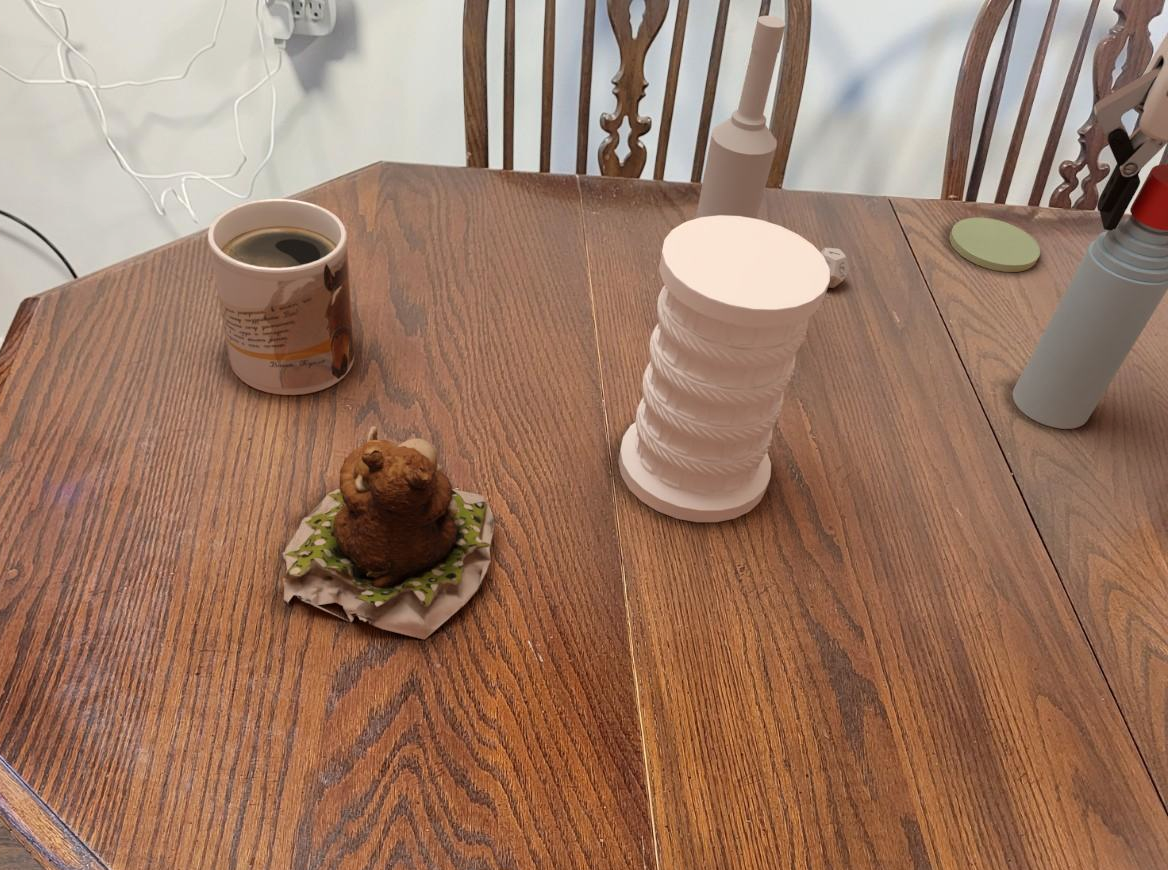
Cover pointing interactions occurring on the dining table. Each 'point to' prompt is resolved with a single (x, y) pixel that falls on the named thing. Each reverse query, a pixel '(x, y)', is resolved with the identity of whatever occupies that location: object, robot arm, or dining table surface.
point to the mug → (284, 294)
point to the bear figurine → (392, 541)
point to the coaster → (994, 244)
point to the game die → (836, 265)
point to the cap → (1153, 199)
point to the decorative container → (720, 364)
